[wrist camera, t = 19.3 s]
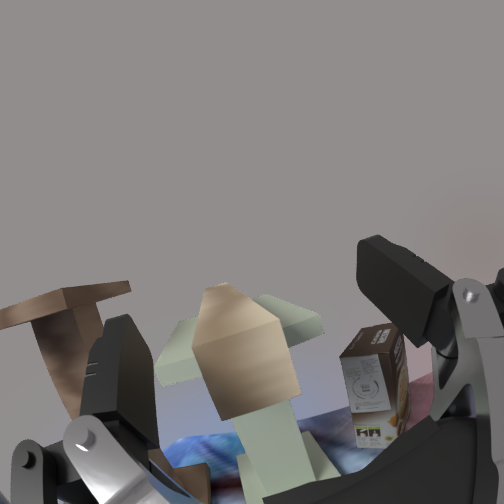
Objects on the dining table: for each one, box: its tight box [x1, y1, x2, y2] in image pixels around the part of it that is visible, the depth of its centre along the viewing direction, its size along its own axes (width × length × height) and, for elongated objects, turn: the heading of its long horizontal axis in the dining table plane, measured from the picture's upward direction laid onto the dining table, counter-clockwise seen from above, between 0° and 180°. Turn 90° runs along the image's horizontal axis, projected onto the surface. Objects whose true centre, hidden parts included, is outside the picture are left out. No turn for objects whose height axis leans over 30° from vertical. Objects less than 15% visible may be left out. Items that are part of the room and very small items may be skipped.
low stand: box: [154, 294, 341, 504], centre depth 26 cm, size 12×18×25 cm, turn 10°
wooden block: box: [191, 282, 302, 421], centre depth 22 cm, size 3×28×3 cm, turn 9°
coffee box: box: [339, 323, 411, 449], centre depth 31 cm, size 9×6×16 cm
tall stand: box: [0, 281, 212, 504], centre depth 23 cm, size 12×18×32 cm, turn 10°
